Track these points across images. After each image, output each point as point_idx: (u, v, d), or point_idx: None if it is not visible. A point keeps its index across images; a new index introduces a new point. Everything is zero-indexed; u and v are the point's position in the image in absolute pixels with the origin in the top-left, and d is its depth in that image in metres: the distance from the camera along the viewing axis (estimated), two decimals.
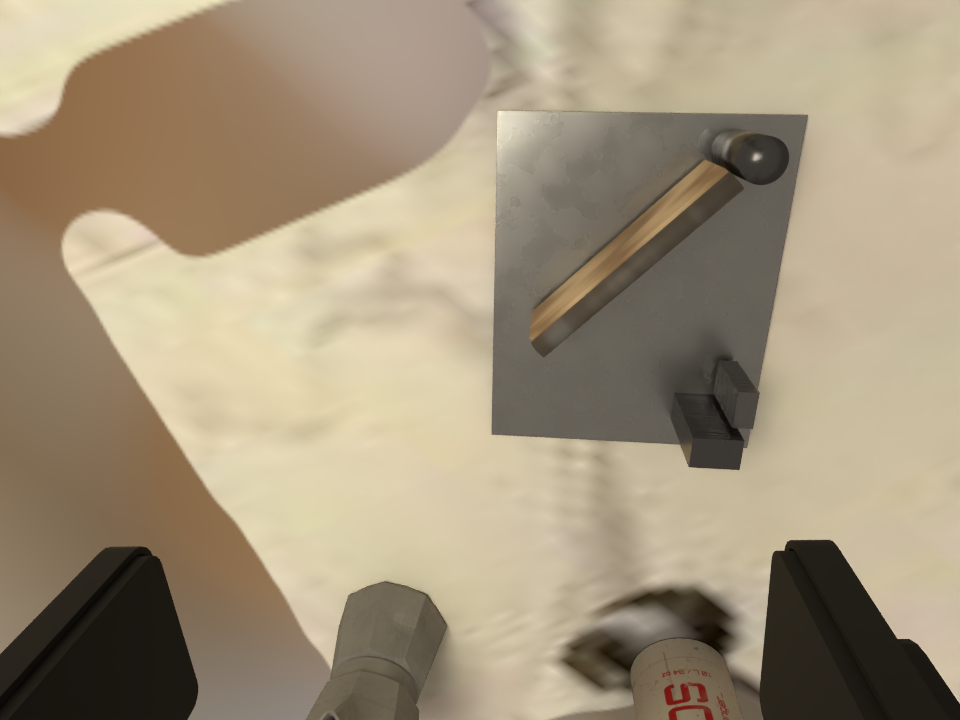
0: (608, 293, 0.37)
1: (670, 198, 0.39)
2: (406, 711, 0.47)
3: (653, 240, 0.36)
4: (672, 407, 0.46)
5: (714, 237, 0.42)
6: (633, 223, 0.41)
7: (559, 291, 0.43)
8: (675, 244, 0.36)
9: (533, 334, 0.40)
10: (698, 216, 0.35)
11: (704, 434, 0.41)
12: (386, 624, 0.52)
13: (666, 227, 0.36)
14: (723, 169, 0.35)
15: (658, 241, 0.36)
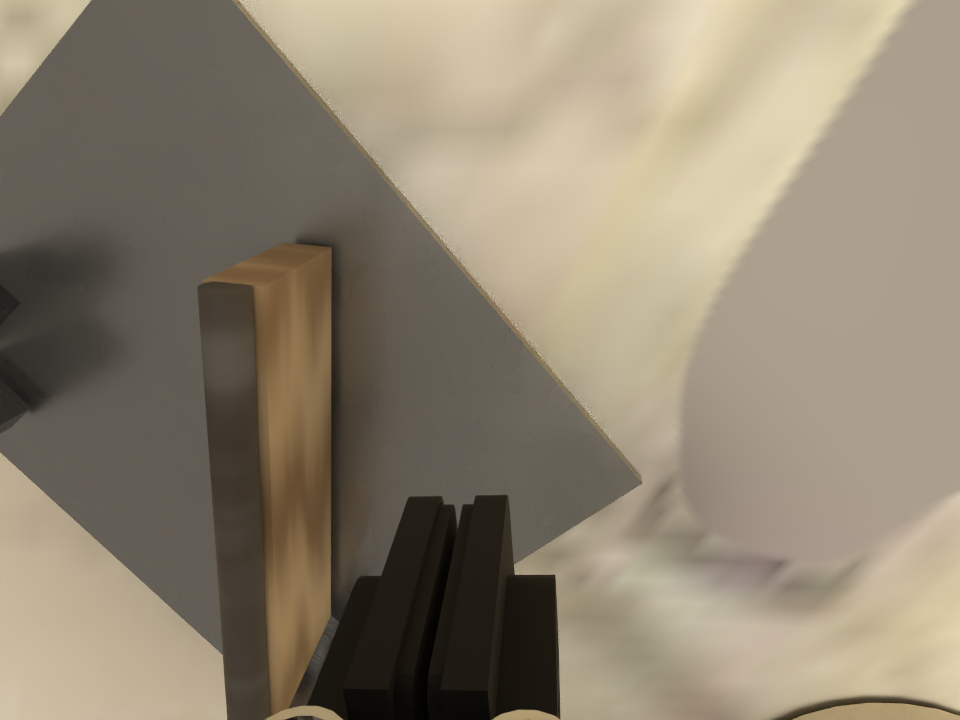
0: (225, 498, 0.17)
1: (314, 583, 0.23)
2: None
3: (256, 610, 0.18)
4: None
5: None
6: (328, 495, 0.23)
7: (321, 333, 0.20)
8: (222, 630, 0.18)
9: (266, 297, 0.16)
10: (237, 686, 0.19)
11: None
12: None
13: (261, 634, 0.19)
14: None
15: (247, 619, 0.18)
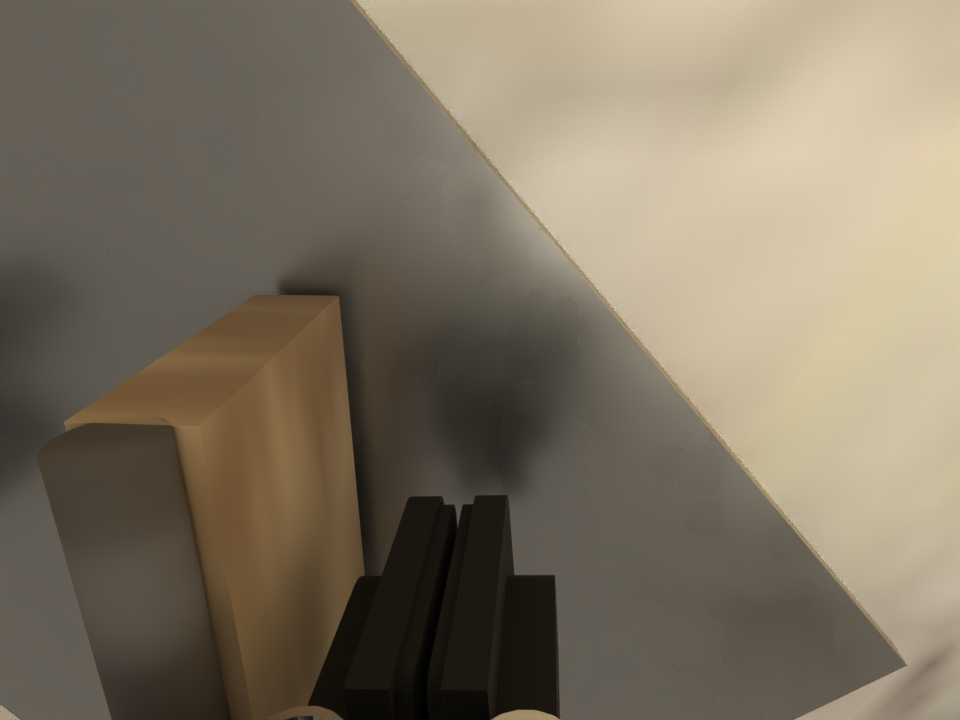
0: None
1: None
2: None
3: None
4: None
5: None
6: None
7: (336, 447, 0.12)
8: None
9: (209, 444, 0.07)
10: None
11: None
12: None
13: None
14: None
15: None
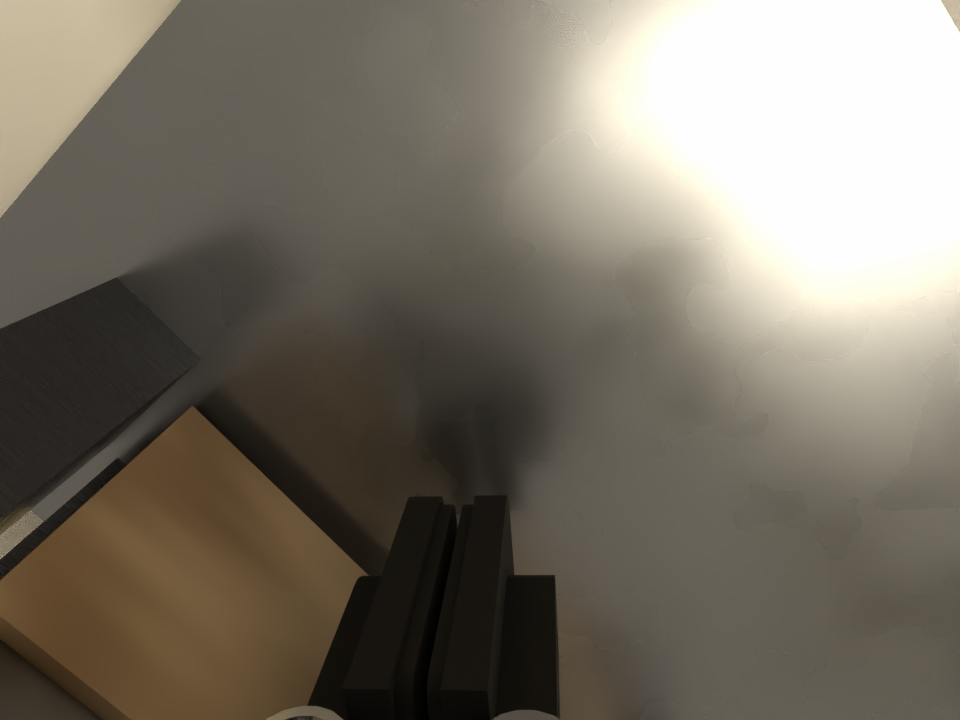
0: None
1: None
2: None
3: None
4: (152, 319, 0.12)
5: None
6: None
7: (270, 528, 0.12)
8: None
9: (9, 606, 0.08)
10: None
11: None
12: None
13: None
14: None
15: None
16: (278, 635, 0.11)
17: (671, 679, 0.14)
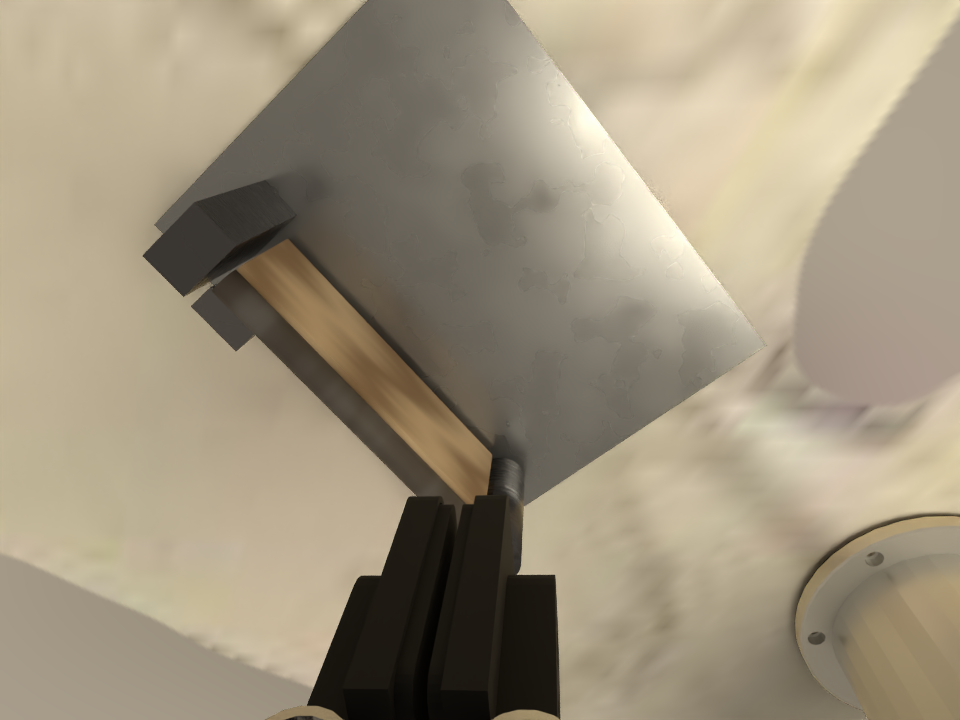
0: (318, 387, 0.26)
1: (448, 430, 0.31)
2: None
3: (395, 441, 0.27)
4: (279, 197, 0.30)
5: None
6: (416, 378, 0.32)
7: (320, 285, 0.30)
8: (390, 468, 0.27)
9: (248, 269, 0.25)
10: (427, 494, 0.27)
11: (228, 256, 0.25)
12: None
13: (412, 455, 0.27)
14: None
15: (394, 449, 0.27)
16: (325, 313, 0.28)
17: (500, 368, 0.32)
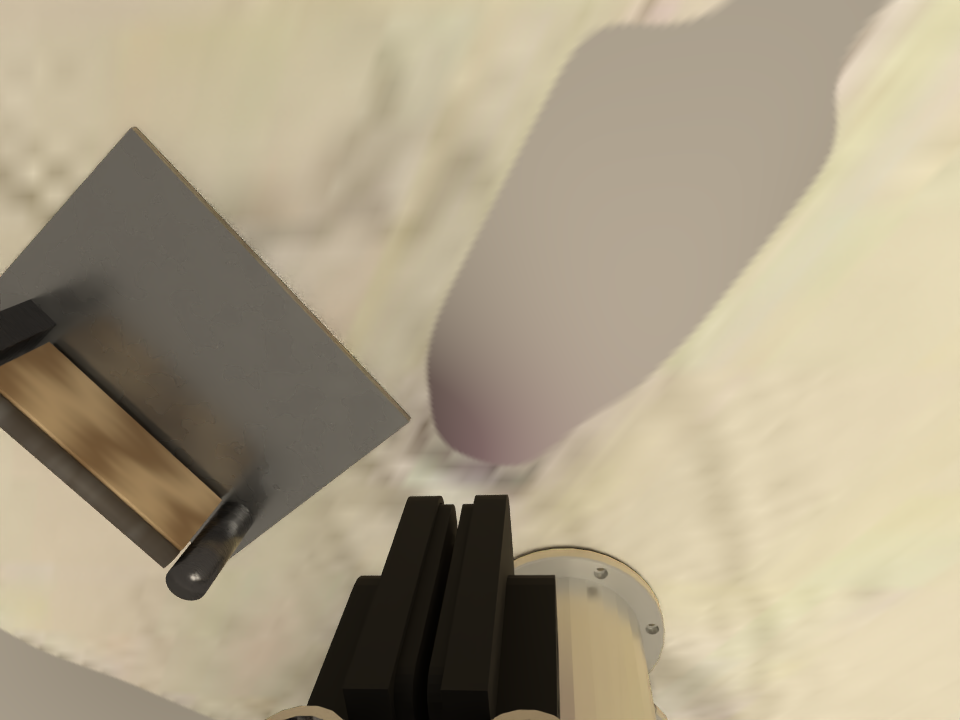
0: (43, 459, 0.36)
1: (173, 484, 0.41)
2: None
3: (105, 497, 0.37)
4: (41, 311, 0.40)
5: (178, 459, 0.43)
6: (155, 443, 0.42)
7: (71, 377, 0.40)
8: (104, 516, 0.37)
9: None
10: (131, 535, 0.37)
11: None
12: None
13: (120, 507, 0.37)
14: (184, 545, 0.39)
15: (103, 503, 0.37)
16: (66, 401, 0.39)
17: (221, 435, 0.42)
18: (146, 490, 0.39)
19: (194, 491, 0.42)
